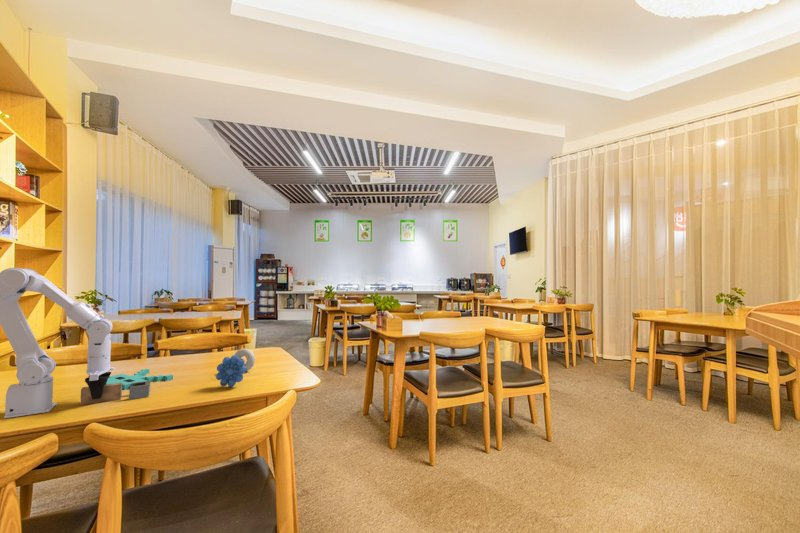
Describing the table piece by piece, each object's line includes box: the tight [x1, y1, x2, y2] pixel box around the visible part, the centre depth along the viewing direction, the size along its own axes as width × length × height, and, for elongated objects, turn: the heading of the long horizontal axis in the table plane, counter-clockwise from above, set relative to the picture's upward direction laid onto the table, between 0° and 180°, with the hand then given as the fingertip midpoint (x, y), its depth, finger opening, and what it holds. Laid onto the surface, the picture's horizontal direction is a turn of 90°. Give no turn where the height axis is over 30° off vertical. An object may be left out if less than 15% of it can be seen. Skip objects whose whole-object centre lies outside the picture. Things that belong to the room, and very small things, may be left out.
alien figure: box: [106, 368, 174, 391], centre depth 132 cm, size 20×2×20 cm
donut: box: [234, 347, 256, 372], centre depth 149 cm, size 10×3×10 cm, turn 80°
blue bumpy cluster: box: [215, 354, 247, 388], centre depth 129 cm, size 12×7×12 cm, turn 87°
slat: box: [79, 383, 123, 406], centre depth 112 cm, size 10×2×5 cm, turn 122°
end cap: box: [128, 381, 151, 400], centre depth 118 cm, size 5×6×4 cm
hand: (97, 397), depth 112 cm, fingers closed on slat, 2 cm apart
